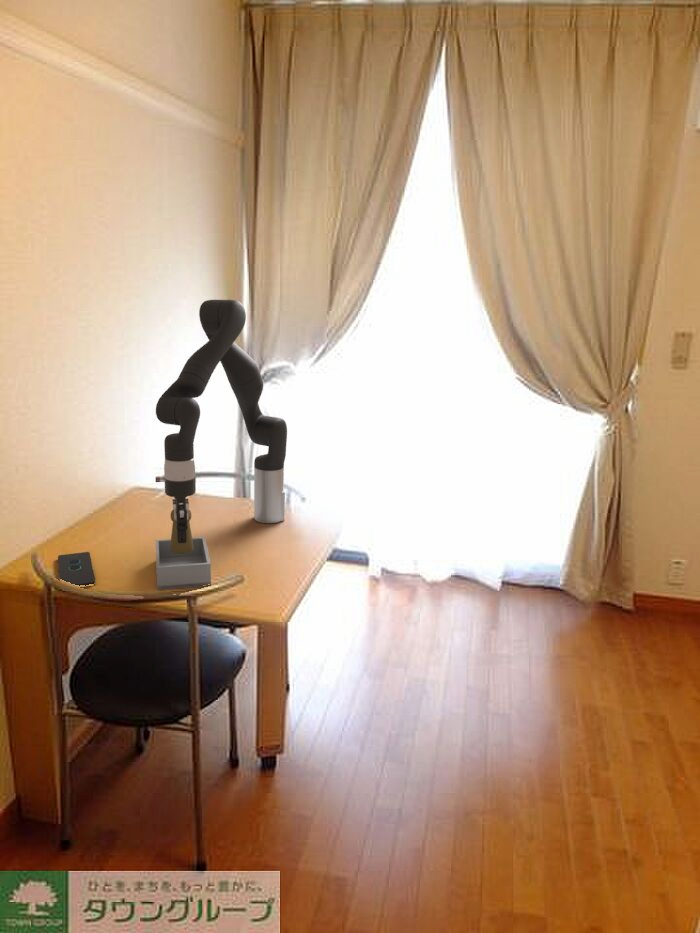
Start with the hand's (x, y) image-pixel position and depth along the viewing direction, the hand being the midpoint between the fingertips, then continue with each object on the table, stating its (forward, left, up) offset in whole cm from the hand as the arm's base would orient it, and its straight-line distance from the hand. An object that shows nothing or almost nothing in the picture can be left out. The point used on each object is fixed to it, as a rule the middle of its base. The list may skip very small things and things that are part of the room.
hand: (181, 539), depth 177 cm
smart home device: (+26, -6, -10) cm, 29 cm away
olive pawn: (0, 0, -3) cm, 3 cm away
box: (0, 0, -9) cm, 9 cm away
